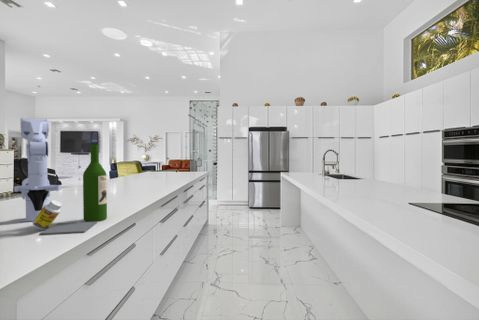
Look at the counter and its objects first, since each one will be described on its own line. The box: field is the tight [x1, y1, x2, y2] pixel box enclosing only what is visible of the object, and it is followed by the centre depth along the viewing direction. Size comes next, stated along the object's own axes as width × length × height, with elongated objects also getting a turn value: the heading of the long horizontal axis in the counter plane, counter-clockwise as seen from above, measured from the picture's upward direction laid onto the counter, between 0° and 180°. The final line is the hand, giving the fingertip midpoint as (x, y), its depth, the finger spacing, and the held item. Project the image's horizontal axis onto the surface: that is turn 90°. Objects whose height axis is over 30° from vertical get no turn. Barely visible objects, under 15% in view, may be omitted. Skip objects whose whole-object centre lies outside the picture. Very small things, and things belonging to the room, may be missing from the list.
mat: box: [39, 221, 98, 236], centre depth 101 cm, size 14×14×1 cm
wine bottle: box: [82, 144, 108, 223], centre depth 115 cm, size 9×9×32 cm
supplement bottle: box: [32, 200, 63, 231], centre depth 99 cm, size 6×6×10 cm
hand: (38, 210), depth 99 cm, fingers closed
